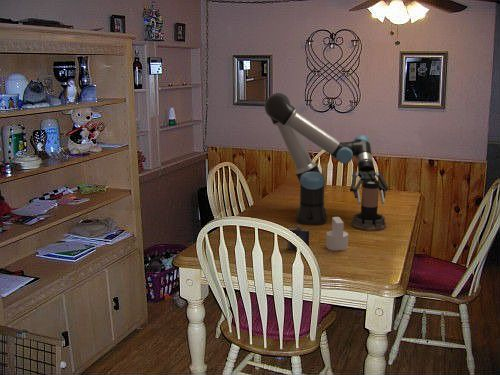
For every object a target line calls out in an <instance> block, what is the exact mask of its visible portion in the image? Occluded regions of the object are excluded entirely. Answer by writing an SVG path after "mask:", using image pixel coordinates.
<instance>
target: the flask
mask: <svg viewBox="0 0 500 375" xmlns="http://www.w3.org/2000/svg"><path fill="white" fill-rule="evenodd" d="M295 226H296V228H294V227H293V228H291V227H290V228H287V229H289V230H290V231H292V232H293V233H295V234H296V235H297V236H299V237H300V238H301V239H302V240H303V241H304V242H305V243H306V244H307V245H308V246H309V247H310V230H309V229H306V228H302V227H301V224H297V225H295ZM286 243H287V244H286V249H287V250H289V249H290V251H296V247H295V246H294V245H293V244H292V243H290V242H289V241H287V240H286ZM291 249H293V250H291Z"/></svg>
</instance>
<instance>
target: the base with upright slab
mask: <svg viewBox="0 0 500 375" xmlns="http://www.w3.org/2000/svg"><path fill="white" fill-rule="evenodd" d="M331 221H332V222H331V230H329V231H326V242H325V243H326V245H325V247H326V249H328V250H330V251H335V250H336V251H337V250H342V251H347V249H348V248H349V246H348V245H349V233H348V231H345V230H344V226H345V225H344V224H345V223H344V221H343V220H342V219H341V217H339V216H334V217H333V216H332V220H331Z"/></svg>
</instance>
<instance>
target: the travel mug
mask: <svg viewBox="0 0 500 375" xmlns="http://www.w3.org/2000/svg"><path fill="white" fill-rule="evenodd" d="M379 183H380V181H379V180H378V181H370V180H365V181H363V182H362V187H361V188H362V189H361V191H362V192H361V200H360V213H361V220H362V224H364V222H365V220H369V221H373V222H372V225H374V224H375V221H376V218H377V214H378V209H379V208H378V207H379V195H380V190H379Z"/></svg>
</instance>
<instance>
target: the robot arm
mask: <svg viewBox="0 0 500 375" xmlns="http://www.w3.org/2000/svg"><path fill="white" fill-rule="evenodd" d="M264 110H265V111H264V112H265V113H266V115H267V116H268V117H269V118H270V120H271V122H272V124H273V125H274V126H277V129H278V130H279V132H280V134H281V137H282V139H283V141H284V144H285V146H286V148H287V150H288V152H289V155H290V157H291V160H292V161H293V164H294V166H295V168H296V170H295V176H296V177H297V178H296V179H297V180H298V182H299V184H300V186H299V187H300V189H299V191H300V192H299V208H298V210H297V213H296V216H295V217H296V218H295V220H296V222H297V223H298V224H300V225H309V226H319V225H324V224H326V223H327V222H328V216H327V212H326V208H325V183H326V179H325V175H324V174H323V173H321V171H320V169H319V166H318V164H317V163H316V162H313V161H312V159H311V155H310V154H309V151H308V149H307V147H306V144H305V142H304V140H303V138H302V136H303V137H304V138H306V139H307V140H308V141H310V142H312V143H313V144H315V145H317V146H318V147H319V148H320V149H322V150H323V151H325V152H326V153H328V154H329V155H331V159H332V158H333V159H337V161H338V162H339V163H340V164H348V163H350V162H351V161H352V160H353V157H355V158H356V164H357V172H356V171H353V172H352V176H351V177H352V180H351V185H350V188H349V192H351V193H352V192H353V194H354V198H355V199H356V201H357V206H361V196H360V189H359V188H360V186H362V184H363V181H365V180H370V181H378V182H379V197H380V203H381V205H382V206H383V205H385V198H386V192H388V190H389V186H388V184H387V182H386V181H385V179H384V177H383V175H382V174H383V173H382V171H379V172H376V171H375V168H374V167H375V166H374V160H373V156H372V155H373V153H372V148H371V143H370V142H371V141H370V138H369V137H368V136H367V135H363V134H362V135H361V134H360V135H358V136H356V137H355V138H354V139H353V140H352V141H344V142H343V141H340V140H338V139H337V138H336V137H334V136H333V135H331V134H330V133H328V132H327V131H325V130H323V129H322V128H321V127H319V126H318V125H316V124H315V123H314V122H312V121H311V120H309V119H308V118H306V117H305V116H304V115H302V114H301V113H299V112H298V111H297V109H296V108H295V106H293V105H291V101H290V99H289V97H288V96H287V95H286V94H284V93H282V92H281V93H280V92H275V93H272V94H270V95H269V96H268V98H267V100H266V101H265V103H264ZM357 177H359V178H360V179H359V180H358V182H357V184H356V186H355V182H356V179H357ZM377 178H378V179H377ZM354 186H355V187H354Z"/></svg>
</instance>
